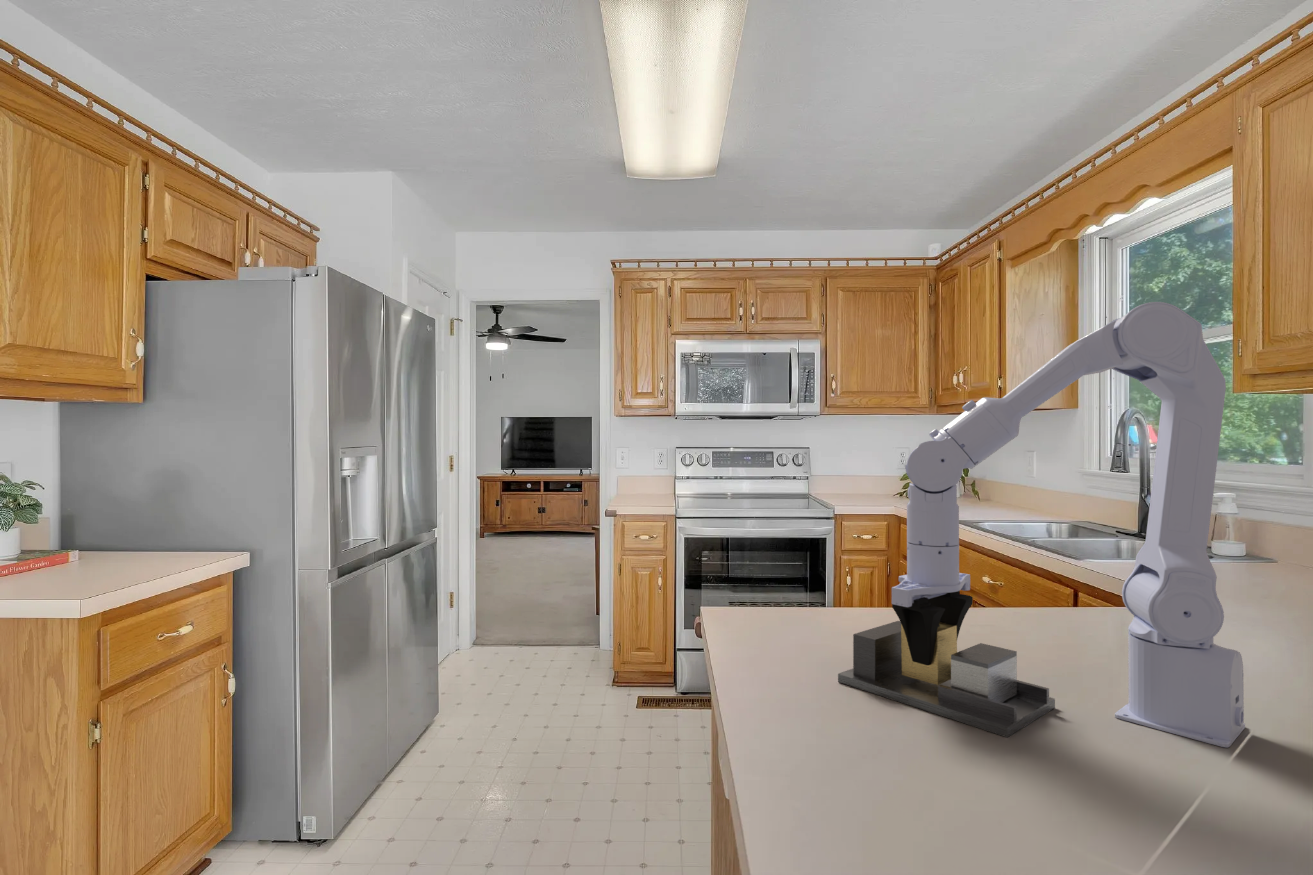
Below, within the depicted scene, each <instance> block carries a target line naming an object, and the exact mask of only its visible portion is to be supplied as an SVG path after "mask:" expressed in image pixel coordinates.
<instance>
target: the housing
mask: <svg viewBox="0 0 1313 875" xmlns="http://www.w3.org/2000/svg"><path fill="white" fill-rule="evenodd" d="M901 651H902V675H904V676H907V677H911V678H914V679H918V680H922V681H925V682H929V683H932V684H936V685H939V684H942V683H944V682H946V681H948V680H951V655H952V654H954V653H957V652H958V638H957V625H952V624H947V623H942V622H939V625H938V628H937V633H936V638H935V649H934V655H933V660H932V663H931V665H924V664H920V663H917V662H913V661H912V658H911V654H910V650H909V646H908V642H907V638H906V635H905V632H904V629H903V626H902V624H901Z"/></svg>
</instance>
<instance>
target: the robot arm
mask: <svg viewBox="0 0 1313 875" xmlns="http://www.w3.org/2000/svg"><path fill="white" fill-rule="evenodd" d="M1109 370H1114V371H1115V372H1118V373H1120V374H1122V375H1125V376H1128V377H1130V378H1133V379H1135V380H1137V381H1138V382H1139V383H1141V384H1142V385H1143V386H1144V387H1146V388H1147V389H1148V390H1149V391H1151V393H1153V394H1154V395H1156V396H1157V397H1158V398H1159V399H1160V401H1161V405H1160V406H1161V407H1160V414H1159V421H1158V422H1159V424H1158V431H1157V439H1156V440H1157V441H1156V446H1155V448H1156V449H1155V457H1154V465H1153V474H1152V482H1151V490H1150V499H1149V500H1150V501H1149V507H1148V508H1149V509H1148V516H1147V526H1146V533H1145V534H1146V535H1145V541H1144V543H1143V545H1141V548H1140V549H1139V551H1138V552H1137V554H1136V556H1135V563H1134V568H1133V570H1132V571H1131V573H1130V574H1129V575H1128V577H1127V578H1126V579H1125V581H1124V582H1123V584H1122V588H1121V589H1122V590H1121V598H1122V602H1123V604H1124V606H1125V608H1126V609H1127V610H1128V612H1130V614H1132V615H1133V618H1132V621H1131V622H1130V623H1129V625H1128V627H1127V628H1128V629H1127V632H1128V635H1127V636H1128V638H1127V640H1128V641H1127V642H1128V643H1127V644H1128V647H1127V648H1128V650H1127V651H1128V652H1127V653H1128V657H1127V658H1128V660H1127V662H1128V664H1127V665H1128V668H1127V669H1128V703H1126V704H1125V705H1124V706H1123V707H1121V708H1120V709H1118V710H1117V711H1116V712H1114V717H1115V718H1117V719H1118V720H1121V721H1125V722H1129V723H1134V724H1137V725H1140V726H1145V727H1147V728H1151V729H1155V730H1158V731H1162V732H1166V733H1170V734H1174V735H1177V736H1181V737H1184V738H1189V739H1191V740H1195V741H1199V742H1203V743H1206V744H1210V745H1213V746H1216V747H1217V746H1218V747H1221V748H1229V747H1231V746H1232V744H1233V743H1234V742H1235V740H1236V739H1237V738H1238V737H1239V736H1240V735H1241V733H1242V732H1243V731H1244V730H1245V729H1246V723H1245V720H1244V719H1245V712H1244V711H1245V710H1244V708H1245V706H1244V704H1245V703H1244V699H1245V697H1244V691H1245V690H1244V685H1245V684H1244V662H1243V656H1242V653H1241V652H1240V651H1238V650H1235V649H1231V648H1226V647H1222V646H1221V645H1218V644H1216V643H1214V637H1216V636H1217V634H1218V633H1219V632H1220V630H1221V629H1222V626H1223V624H1224V622H1225V621H1224V620H1225V619H1224V618H1225V614H1224V613H1225V612H1224V608H1223V606H1222V603H1221V601H1220V599H1219V597H1218V595H1217V594H1218V593H1217V589H1216V588H1217V587H1216V586H1217V577H1218V576H1217V573H1216V571H1215V569H1214V567H1213V563H1212V562H1211V560H1210V558H1209V555H1208V552H1207V551H1208V550H1207V549H1208V544H1209V543H1208V541H1209V534H1210V532H1209V531H1210V525H1211V524H1210V523H1211V518H1212V517H1211V514H1212V508H1213V506H1212V505H1213V500H1214V498H1213V497H1214V491H1215V484H1216V483H1215V481H1216V473H1217V466H1218V456H1219V448H1220V442H1221V440H1220V439H1221V432H1222V423H1223V422H1222V421H1223V417H1224V416H1223V414H1224V405H1225V398H1226V392H1227V391H1226V389H1227V384H1226V379H1225V376H1224V375H1223V373H1222V371H1221V369H1220V367H1219V365H1218V363H1217V362H1216V359H1215V358H1214V356H1213V354H1212V353H1211V351H1210V349H1209V347H1208V346H1207V344H1206V342H1205V340H1204V337H1203V325H1202V323H1201V322H1199V321H1198V320H1196V319H1195V318H1194V317H1193V316H1191V315H1189V314H1188V313H1187V312H1185V311H1184V310H1183V309H1181V308H1179V307H1178V306H1176V305H1173V304H1172V303H1168V302H1163V301H1150V302H1146V303H1142V304H1140V305H1137V306H1136V307H1133V308H1132V309H1131V310H1130V311H1128V312H1127V313H1126V314H1125V315H1123V316H1120V317H1119V318H1116V319H1113V320H1111V321H1110V322H1108V323H1107V324H1105V325H1103V326H1101V327H1099V328H1097V329H1096V330H1094V331H1092V332H1090V333H1089V334H1087V335H1085V336H1082V337H1080V338H1079V339H1077V340H1076V341H1074V342H1072V343H1070V344H1069V345H1068V346H1066V347H1065V348H1063V349H1062V350H1060V352H1058V353H1057V354H1056V355H1055V356H1054V357H1052V358H1051V359H1050V360H1049V361H1047V362H1045V363H1044V364H1043V365H1042V366H1040V368H1038V369H1037V370H1035V371H1034V372H1033V373H1032V374H1031V375H1030V376H1028V377H1027V378H1025V379H1024V380H1023V381H1021V383H1019V384H1018V385H1017V386H1015V387H1014V388H1013V389H1012V390H1010V391H1009V392H1008V393H1006V394H1004V396H1003V397H1001V398H997V397H996V398H995V397H987V396H986V397H985V396H984V397H982V398H980V399H979V400H978V401H976V402H975V401H974V400H973V399H971V400H969V401H968V402H966V403H965V404H964V405H963V406H962V407H961V409H962V410H963V412H961V414H959V415H958V416H957V417H955V418H953V419H952V420H951V421H949V422H948V423H946V425H945V426H943V427H942V428H941V429H939V430H938V429H937V428H934V429H933V430H931V431H930V432H928V434H929V437H931V439H932V440H927V441H923V442H921V443H919V445H918V446H916V447H915V448H913V449H912V451H911V452H910V453H909V454H908V457H907V460H906V464H905V465H904V467H905V473H906V475H907V478H908V479H909V480H910V481H911V482H909V485H908V487H907V497H908V499H909V500H908V503H907V504H906V574H904V575H899V576H898V582H899V584H897V585H895V586H892V587H891V608H892V610H893V611H894V613H895V614H896V615H897V618H898V619H899V620H898V621H900V622H901V624H902V626H903V629H904V632H905V635H906V638H907V642H908V646H909V650H910V654H911V658H912V661H913V662H917V663H920V664H924V665H931V663H932V660H933V655H934V649H935V638H936V633H937V628H938V625H939V622H942V623H947V624H952V625H957V639H958V637H959V634H960V631H961V627H962V624H963V621H964V619H965V617H966V615H967V613H968V611H969V609H970V608H971V607H972V605H973V601H974V600H973V599H974V598H973V596H972V595H968V594H962V593H961V592H960V591H964V592H965V591H966V592H967V591H970V590H971V574H970V573H969V574H968V573H964V572H963V573H962V572H960V506H959V504H958V499H957V498H958V495H957V493H958V490H957V487H958V486H957V484H958V483H959V482H960V480H961V478H962V476H963V472H964V471H963V470H964V469H970V470H973V469H975V467H976V466H978V465H980V464H981V463H982V462H983V461H985V460H986V459H987V458H989V457H991V456H992V455H993V454H995V453H996V452H997V451H999V450H1000V449H1001V448H1003V447H1004V446H1006V445H1007V444H1008V443H1011V441H1012V440H1014V439H1015V438H1017V437H1018V436H1019V432H1020V424H1021V420H1022V419H1023V417H1025V416H1027V415H1028V414H1029V413H1031V412H1033V411H1034V410H1035V409H1037V408H1038V407H1040V406H1041V405H1042V404H1044V403H1045V402H1047V401H1049V400H1050V399H1051V398H1053V397H1055V396H1056V395H1057V394H1059V393H1060V392H1062V391H1063V390H1064V389H1066V388H1067V387H1068V386H1070V385H1071V384H1073V383H1074V382H1076V381H1077V380H1079V379H1080V378H1082V377H1083V376H1089V375H1095V374H1100V373H1103V372H1106V371H1109Z"/></svg>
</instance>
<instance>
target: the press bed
mask: <svg viewBox="0 0 1313 875" xmlns="http://www.w3.org/2000/svg"><path fill="white" fill-rule="evenodd" d="M852 638H853V642H852V643H853V645H852V646H853V648H852V649H853V650H852V652H853V653H852V658H853V659H852V660H853V666H852V667H853V668H850V669H847V670H845V671H842V672H839V673H838V674H837V682H838V683H841V684H843V685H847V686H850V687H852V688H854V689H859V690H861V691H862V690H863V691H865V692H868V693H871V694H873V695H874V694H875V695H876V696H879V697H883V698H886V699H889V700H892V701H895V702H899V703H901V704H904V705H908V706H910V707H914V708H917V709H920V710H923V711H926V712H929V713H932V714H935V715H938V716H941V717H944V718H947V719H950V720H954V721H956V722H959V723H963V724H966V725H968V726H972V727H974V728H978V729H981V730H983V731H987V732H990V733H993V734H995V735H996V734H997V735H1000V736H1002V737H1005V738H1008V737H1010V736H1011V735H1014V734H1015V733H1017V732H1018V731H1020V730H1022V729H1023V728H1025V727H1026V726H1028V725H1030V724H1031V723H1033V722H1034V721H1036V720H1037V719H1039V718H1041V717H1043V716H1044V715H1046V714H1047V713H1049V712H1051V711H1052V710H1054V709H1055V708H1056V698H1054V697H1050V688H1049V687H1045V686H1041V685H1038V684H1035V683H1034V684H1033V683H1030V682H1026V681H1023V680H1018V679H1017V694H1016V695H1014V696H1013V697H1011V698H1009V699H1007V700H1005V701H1003V702H999V701H995V700H992V699H988V698H985V697H981V696H978V695H975V694H971V693H968V692H964V691H961V690H957V689H954V688H951V680H948V681H946V682H944V683H942V684H939V685H936V684H932V683H929V682H925V681H922V680H918V679H914V678H911V677H907V676H904V675H902V651H901V622H900V620H897V621H896V620H895V621H892V622H889V623H887V624H882V625H879V626H876V627H873V628H870V629H866V630H863V631H859V632H856V633H853V636H852Z"/></svg>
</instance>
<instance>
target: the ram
mask: <svg viewBox="0 0 1313 875" xmlns="http://www.w3.org/2000/svg"><path fill="white" fill-rule="evenodd" d="M1017 653H1018V652H1017V650H1013V649H1009V648H1003V647H1000V646H994V645H990V644H988V643H986V644H985V643H982V642H980V643H977V644H975V645H973V646H970V647H967V648H965V649H962V650H959V651H957V653H954V654H952V655H951V688H954V689H957V690H961V691H964V692H968V693H971V694H975V695H978V696H981V697H985V698H988V699H992V700H995V701H999V702H1003V701H1005V700H1007V699H1009V698H1011V697H1013V696H1014V695H1016V694H1017V680H1018V675H1017V674H1018V669H1017V668H1018V665H1017V662H1018V660H1017V657H1018V656H1017Z"/></svg>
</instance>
